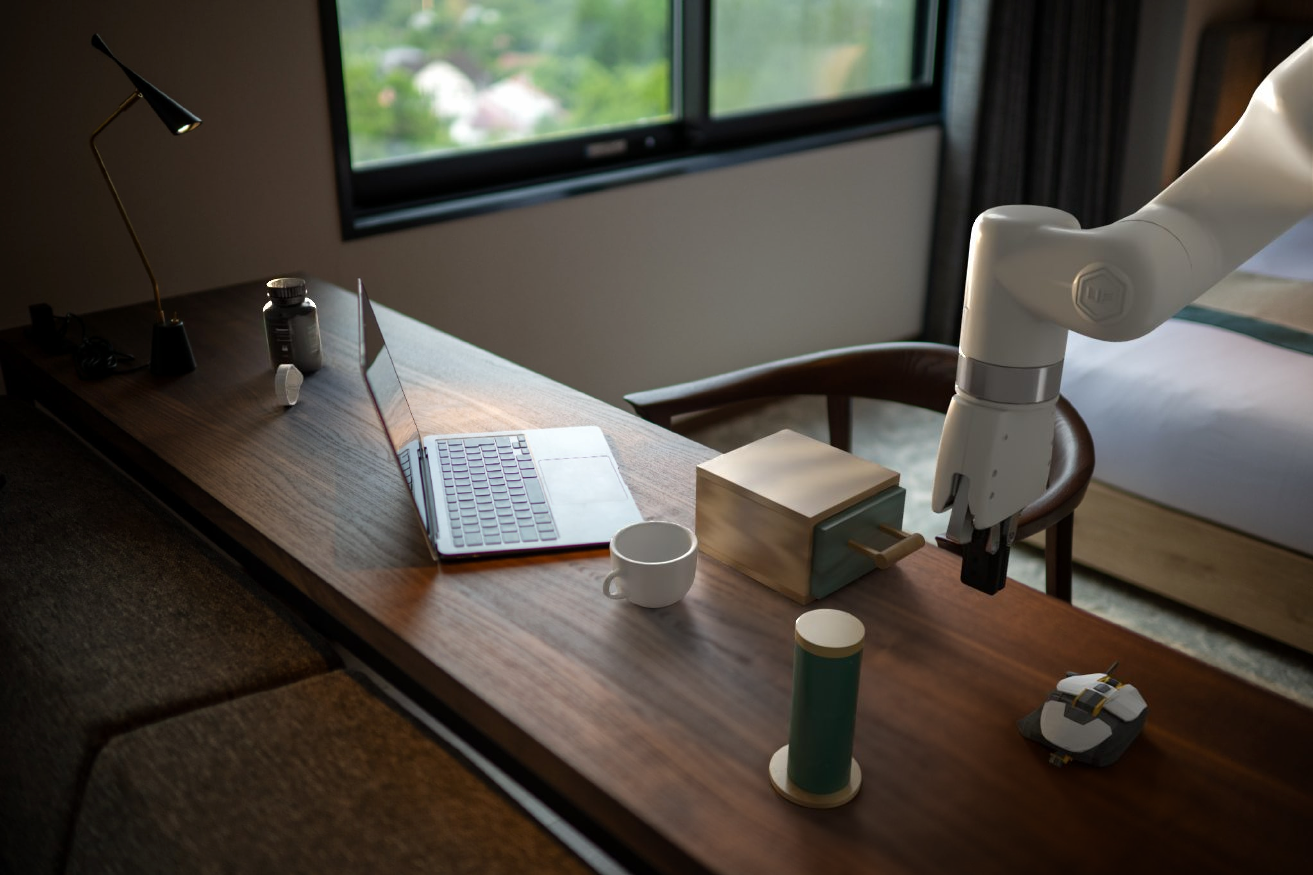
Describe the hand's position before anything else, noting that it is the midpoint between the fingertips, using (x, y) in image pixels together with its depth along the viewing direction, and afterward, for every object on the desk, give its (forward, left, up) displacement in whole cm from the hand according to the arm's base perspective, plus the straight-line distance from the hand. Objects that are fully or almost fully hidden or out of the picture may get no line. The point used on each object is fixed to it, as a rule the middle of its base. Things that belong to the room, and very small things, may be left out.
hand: (982, 585), depth 90 cm
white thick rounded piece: (+66, -60, -6) cm, 89 cm away
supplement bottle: (+67, -73, -6) cm, 99 cm away
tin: (+17, +14, -5) cm, 23 cm away
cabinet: (+12, -16, -5) cm, 21 cm away
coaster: (+18, +14, -5) cm, 23 cm away
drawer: (+9, -13, -4) cm, 16 cm away
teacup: (+27, -10, -6) cm, 29 cm away
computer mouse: (-4, +11, -6) cm, 13 cm away
